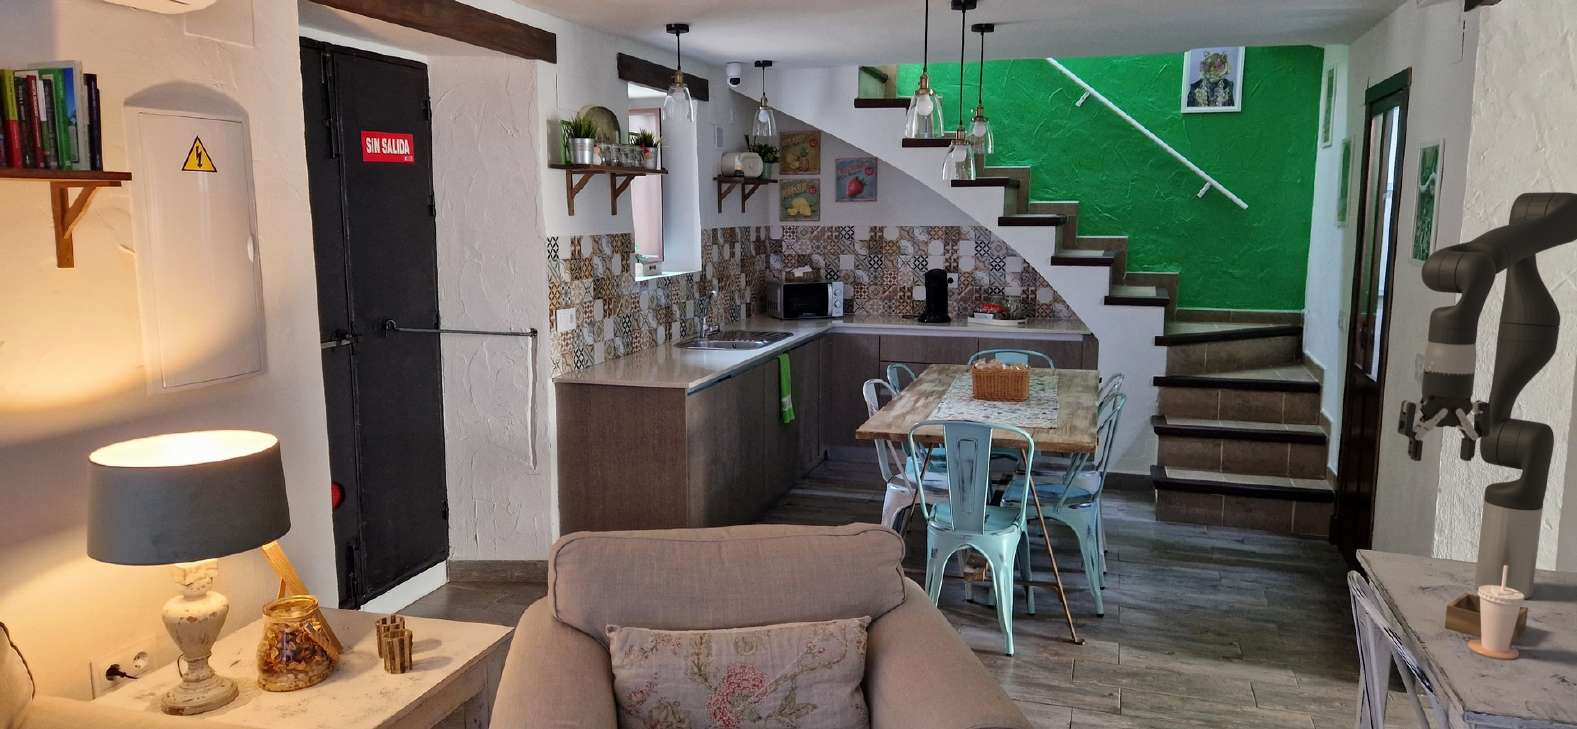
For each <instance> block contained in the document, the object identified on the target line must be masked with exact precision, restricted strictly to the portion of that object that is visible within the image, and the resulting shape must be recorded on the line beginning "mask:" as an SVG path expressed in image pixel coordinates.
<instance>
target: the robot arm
mask: <svg viewBox="0 0 1577 729" xmlns="http://www.w3.org/2000/svg"><path fill="white" fill-rule="evenodd" d="M1509 212H1510V213H1509V219H1508V224H1507V225H1503V226H1498V227H1496V228H1494V229H1491V230H1489V231H1486V232H1485V233H1483V234H1480V235H1479V236H1477V237H1475V238H1473V239H1472V240H1471V241H1467V242H1461V243H1457V244H1453V245H1450V246H1446V247H1443V248H1440V249H1437V250H1436V251H1434V252H1433V253H1431V254H1430V255H1429V256H1428V257H1427V259H1426V260H1425V261H1424V262H1423V265H1422V268H1421V280H1422V282H1423V283H1424V285H1425V286H1426V287H1427V288H1429V289H1430V290H1431V291H1434V292H1437V293H1450V294H1451V293H1452V294H1461V297H1460V299H1459V300H1458V301H1457V303H1455V305H1447V306H1439V307H1437V308H1434V309H1433V310H1432V311H1431V313H1430V317H1429V326H1428V337H1427V344H1426V349H1425V352H1424V358H1423V359H1424V361H1423V368H1422V369H1423V370H1422V382H1421V396H1422V397H1421V399H1420V401H1417V402H1415V401H1409V400H1402V402H1401V404H1400V405H1401V406H1400V411H1399V412H1400V413H1399V417H1398V426H1397V431H1396V432H1397V433H1398V434H1399V435H1403V436H1405V437H1407V438H1408V447H1407V448H1408V449H1407V455H1408V457H1410V460H1412V461H1414V462H1421V460H1422V455H1423V445H1424V444H1423V442H1424V441H1423V440H1422V439H1423V438H1424V436H1425V435H1426V434H1427V433H1428V432H1431V431H1433V429H1434V428H1435V427H1436V428H1444V427H1449V428H1457V429H1458V430H1459V432H1460V433H1461V435H1462V436H1463V437H1461V440H1460V441H1461V443H1460V451H1459V452H1460V453H1459V458H1460V460H1462V461H1465V462H1471V461H1472V458H1474V457H1475V455H1476V454H1475V453H1476V444H1477V440H1478V439H1479V438H1480V440H1479V452H1480V457H1481V459H1482V460H1483V462H1484V463H1487V464H1490V465H1493V466H1499V467H1504V468H1510V469H1515V470H1520V471H1521V470H1522V472H1521V475H1520V477H1519V478H1517V479H1516V480H1515V479H1514V480H1512V481H1502V482H1494V483H1491V484H1488V485H1487V486H1486V488H1485V490H1484V497H1483V503H1482V504H1483V505H1482V512H1481V513H1482V515H1481V524H1480V525H1481V526H1480V534H1479V542H1478V550H1477V552H1478V554H1477V561H1476V568H1475V577H1474V578H1475V579H1474V587H1475V589H1477V590H1479V587H1480V586H1484V585H1495V586H1502V578H1503V569H1504V565H1507V566H1508V570H1507V579H1506V587H1507V588H1511V589H1514V590H1517V591H1519V592H1521V593H1522V594H1523V595H1524V600H1526V599H1530V598H1532V597H1533V592H1534V583H1535V577H1536V576H1535V575H1536V567H1537V560H1538V550H1539V542H1540V535H1541V526H1542V518H1543V508H1544V503H1545V502H1544V500H1545V497H1546V491H1547V486H1548V480H1549V479H1548V478H1549V473H1550V467H1551V462H1552V458H1553V453H1554V446H1555V445H1554V444H1555V435H1554V431H1553V428H1552V427H1551V426H1550V425H1549V424H1547V423H1544V422H1539V421H1532V420H1524V419H1519V418H1512V417H1511V416H1512V412H1513V408H1514V405H1515V403H1516V400H1517V399H1518V396H1519V395H1520V393H1521V392H1523V391H1522V390H1524V388H1525V387H1526V386H1527V384H1528V383H1529V382H1530V381H1531V380H1532V379H1533V378H1535V377H1536V375H1537V374H1538V373H1539V372H1540V371H1542V369H1544V367H1546V366H1547V364H1548V363H1549V362H1550V361H1551V359H1552V358H1553V356H1554V355H1555V353H1556V351H1557V347H1558V340H1559V332H1560V326H1561V314H1560V311H1559V308H1558V306H1557V304H1556V302H1555V300H1554V298H1553V296H1552V295H1551V293H1550V291H1549V290H1548V288H1547V287H1546V284H1545V283H1544V281H1543V279H1542V277H1541V275H1540V272H1539V269H1538V265H1537V264H1538V263H1537V254H1538V253H1541V252H1544V251H1546V250H1550V249H1552V248H1555V247H1558V246H1562V245H1566V244H1568V243H1572V242H1575V241H1576V240H1577V193H1574V192H1568V191H1567V192H1563V191H1562V192H1558V191H1556V192H1552V191H1551V192H1543V191H1542V192H1524V193H1521V194H1520V195H1518V196H1517V197H1516V198H1515V200H1514V201H1513V203H1512V206H1511V209H1510V211H1509ZM1504 270H1506V275H1505V286H1504V291H1503V299H1502V306H1501V310H1500V311H1501V312H1500V316H1499V323H1498V329H1497V330H1498V331H1497V339H1496V348H1495V349H1496V350H1495V359H1494V367H1493V368H1494V369H1493V376H1492V382H1491V388H1490V392H1489V397H1488V401H1483V400H1479V399H1477V400H1475V401H1474V402H1473V401H1472V398H1471V397H1472V396H1473V394H1474V384H1475V374H1476V366H1477V365H1476V364H1477V344H1476V343H1477V338H1478V327H1479V326H1478V325H1479V320H1480V317H1481V314H1482V311H1483V308H1484V306H1485V303H1486V300H1487V299H1488V296H1489V294H1490V292H1491V290H1492V287H1493V285H1494V283H1495V280H1496V275H1498V274H1500V273H1502V272H1503V271H1504ZM1419 411H1420V412H1421V415H1420V416H1418V418H1417V419H1416V420H1415V417H1416V415H1417V414H1418V412H1419ZM1471 412H1472V413H1473V414H1474V415H1473V418H1474V419H1473V423H1471V421H1470V420H1469V418H1468V415H1469V414H1470V413H1471Z"/></svg>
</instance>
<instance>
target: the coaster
mask: <svg viewBox="0 0 1577 729" xmlns="http://www.w3.org/2000/svg"><path fill="white" fill-rule="evenodd" d="M1467 647H1468V649H1469V650H1470V651H1472V652H1473V653H1475V654H1478V655H1481V656H1483V657H1488V658H1490V659H1491V658H1492V659H1495V660H1496V659H1497V660H1503V661H1504V660H1506V661H1507V660H1508V661H1509V660H1510V661H1511V660H1515V659H1517V658H1519V655H1520V654H1519V653H1520V652H1519V650H1518V649H1516V648H1515V647H1514V646H1512V645H1510V646H1509V650H1508V651H1507V652H1495V651H1491V650H1488V649H1485V648H1484V647H1482V640H1481V638H1476V639H1474V638H1473V639H1471V640H1469V641H1468V642H1467Z"/></svg>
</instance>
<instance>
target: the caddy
mask: <svg viewBox="0 0 1577 729" xmlns="http://www.w3.org/2000/svg"><path fill="white" fill-rule="evenodd" d="M1528 611H1529V608H1528V607H1525V606H1521V607H1520V611H1519V614H1518V618H1517V621H1516V625H1515V628H1514V632H1513V636H1512V639H1511V643H1510V645H1511V644H1512V643H1513V642H1514V641H1516V640H1517V639H1518V638H1519V637H1520V636H1521V635H1522V634H1523V633H1524V632H1525V631H1526V630H1527V628H1526V627H1527V619H1528ZM1444 628H1445V629H1446V630H1447V629H1448V630H1451V631H1455V632H1459V633H1462V634H1466V635H1469V636H1470V635H1471V636H1473V637H1478V638H1481V612H1480V596H1479V595H1475V594H1471V593H1466V592H1464V593H1463V594H1461V595H1460V596H1459V597H1457V598H1456V599H1455V600H1453V601H1452V602H1450V603H1449V604H1448V605H1447V606H1446V613H1445V622H1444Z"/></svg>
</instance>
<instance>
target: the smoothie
mask: <svg viewBox="0 0 1577 729" xmlns="http://www.w3.org/2000/svg"><path fill="white" fill-rule="evenodd" d="M1507 570H1508V566H1507V565H1504V569H1503V578H1502V586H1495V585H1484V586H1480V587H1479V589H1477V590H1478V592H1477V596H1480V612H1481V637H1480V639H1481V640H1482V647H1484V648H1485V649H1488V650H1491V651H1495V652H1507V651H1508V650H1509V646H1511V644H1512V643H1511V639H1512V636H1513V632H1514V628H1515V625H1516V621H1517V618H1518V614H1519V611H1520V607H1522V604H1524V603H1525V599H1524V595H1523V594H1522V593H1521V592H1519V591H1517V590H1514V589H1511V588H1507V587H1506V579H1507ZM1510 643H1511V644H1510Z"/></svg>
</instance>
